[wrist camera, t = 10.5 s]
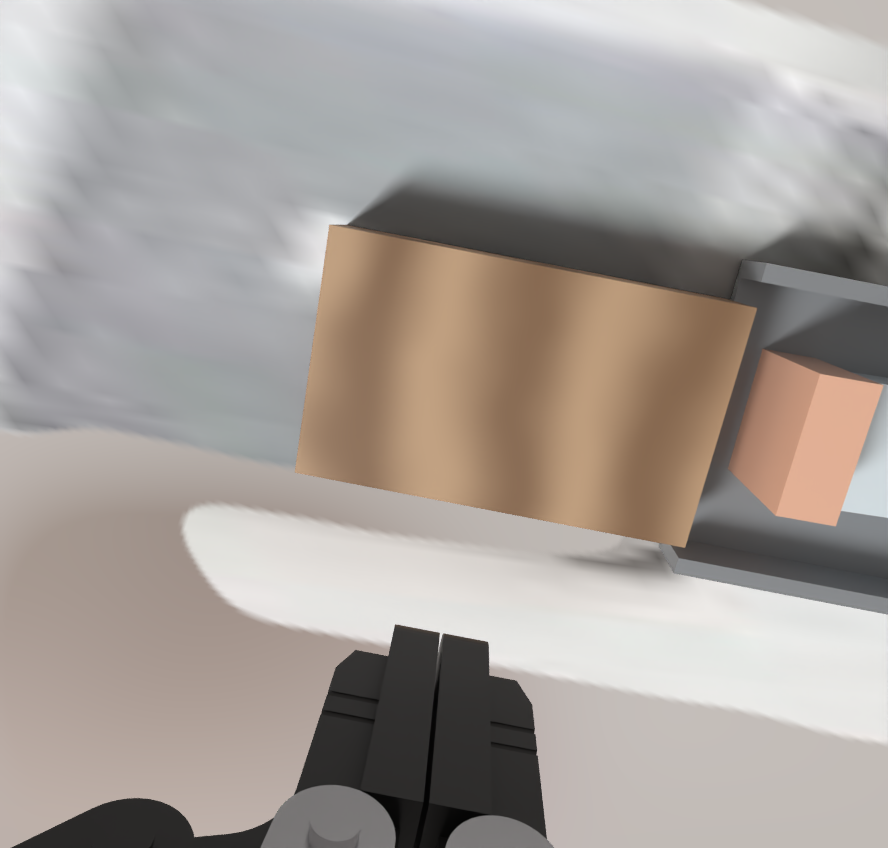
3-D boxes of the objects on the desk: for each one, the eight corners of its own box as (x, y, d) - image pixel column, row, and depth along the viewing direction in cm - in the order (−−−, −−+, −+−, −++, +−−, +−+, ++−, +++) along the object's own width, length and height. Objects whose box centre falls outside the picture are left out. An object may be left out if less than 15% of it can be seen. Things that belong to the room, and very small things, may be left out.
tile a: (775, 515, 30) (835, 526, 30) (820, 373, 28) (883, 385, 28) (727, 468, 36) (778, 477, 36) (762, 348, 34) (815, 358, 34)
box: (658, 546, 38) (673, 573, 35) (742, 259, 34) (767, 262, 31) (957, 604, 38) (996, 635, 35) (1074, 324, 34) (1130, 333, 31)
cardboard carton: (314, 446, 37) (294, 472, 33) (346, 224, 34) (329, 224, 30) (663, 514, 37) (685, 547, 33) (726, 298, 34) (757, 307, 30)
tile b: (947, 526, 33) (915, 506, 36) (991, 400, 32) (955, 387, 34) (816, 507, 33) (793, 488, 36) (854, 379, 32) (828, 368, 34)
